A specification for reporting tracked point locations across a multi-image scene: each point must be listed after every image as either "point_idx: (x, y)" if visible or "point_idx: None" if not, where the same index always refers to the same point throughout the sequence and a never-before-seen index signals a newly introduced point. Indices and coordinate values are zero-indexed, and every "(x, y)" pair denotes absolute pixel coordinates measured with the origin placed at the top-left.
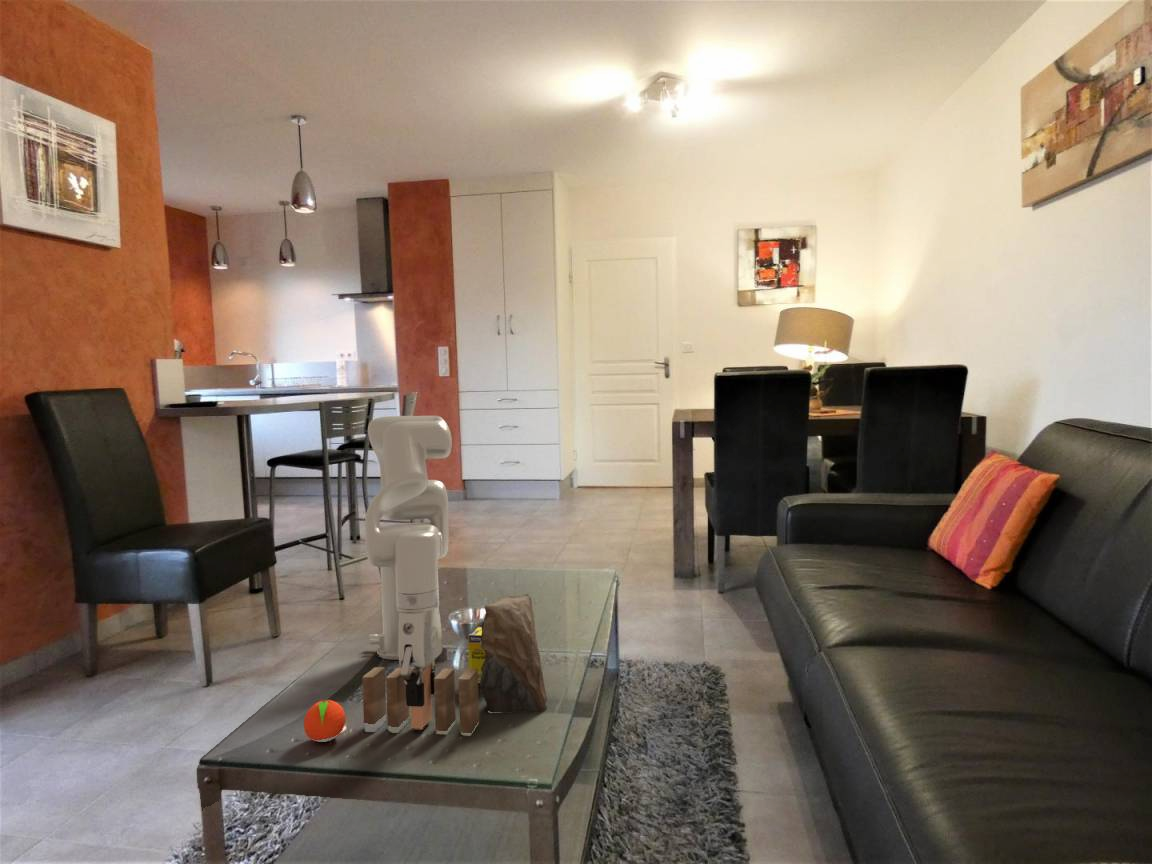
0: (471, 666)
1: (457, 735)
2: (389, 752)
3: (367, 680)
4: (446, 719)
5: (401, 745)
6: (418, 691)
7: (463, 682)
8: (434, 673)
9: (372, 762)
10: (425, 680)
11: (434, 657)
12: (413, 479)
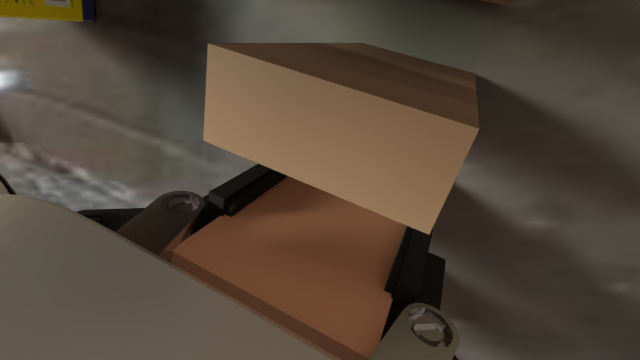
0: (14, 6)
1: (493, 20)
2: (553, 280)
3: None
4: (469, 78)
5: (506, 240)
6: (422, 283)
7: None
8: (219, 191)
9: (621, 336)
10: (315, 249)
11: (201, 314)
12: None
